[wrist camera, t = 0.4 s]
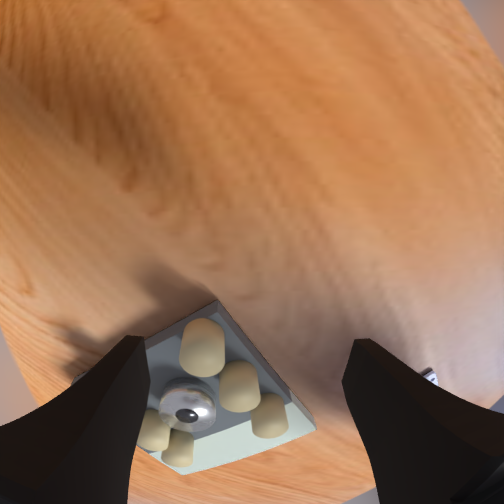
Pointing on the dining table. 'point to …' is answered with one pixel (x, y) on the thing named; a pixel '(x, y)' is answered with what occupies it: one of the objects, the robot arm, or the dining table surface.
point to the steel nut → (188, 404)
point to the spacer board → (218, 394)
